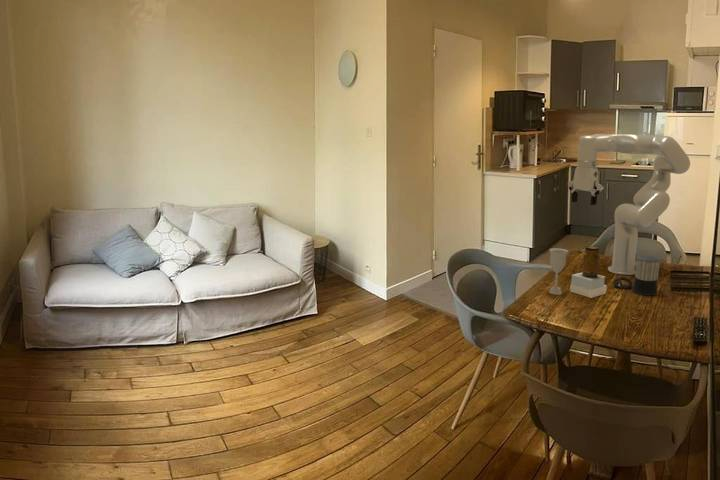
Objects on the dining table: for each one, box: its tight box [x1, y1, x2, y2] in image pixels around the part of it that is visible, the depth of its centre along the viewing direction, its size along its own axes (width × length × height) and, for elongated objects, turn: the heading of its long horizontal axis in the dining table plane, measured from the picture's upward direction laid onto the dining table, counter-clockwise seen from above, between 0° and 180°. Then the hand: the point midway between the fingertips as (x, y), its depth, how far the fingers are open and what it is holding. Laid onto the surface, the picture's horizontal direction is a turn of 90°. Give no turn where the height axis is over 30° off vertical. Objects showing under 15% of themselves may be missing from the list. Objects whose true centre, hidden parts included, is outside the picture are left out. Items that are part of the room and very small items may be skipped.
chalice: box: [548, 247, 569, 296], centre depth 243 cm, size 7×7×18 cm
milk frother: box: [613, 254, 662, 296], centre depth 247 cm, size 14×16×15 cm
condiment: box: [577, 245, 606, 279], centre depth 242 cm, size 7×8×12 cm
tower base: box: [569, 283, 608, 299], centre depth 245 cm, size 10×10×4 cm
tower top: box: [570, 272, 606, 290], centre depth 244 cm, size 9×9×4 cm
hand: (583, 203), depth 262 cm, fingers open, 9 cm apart
